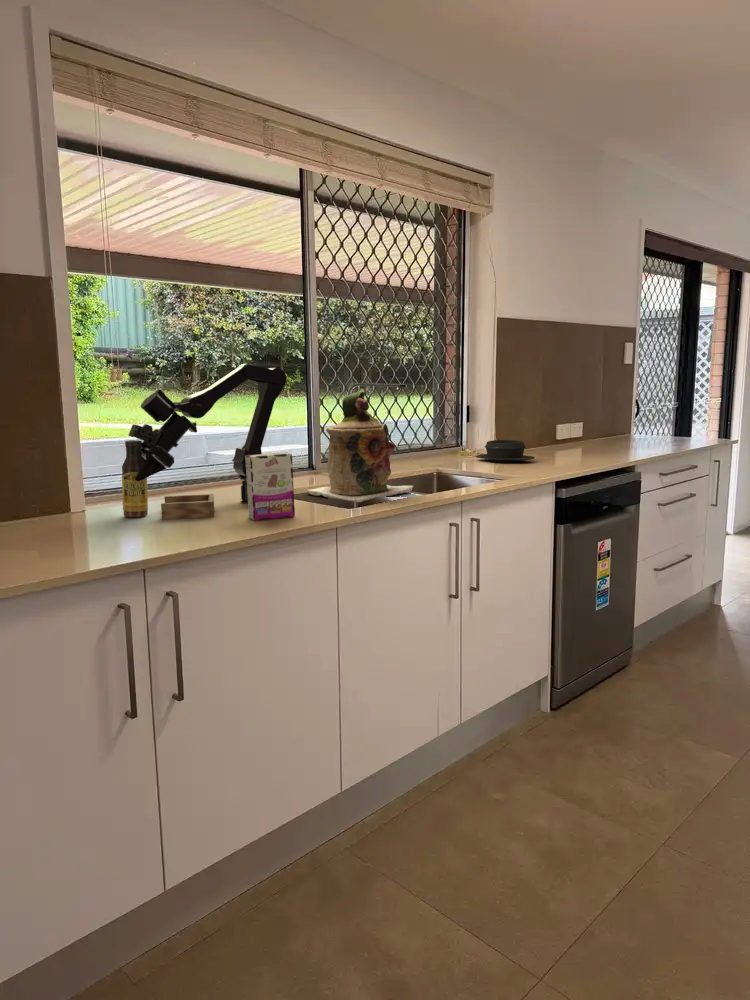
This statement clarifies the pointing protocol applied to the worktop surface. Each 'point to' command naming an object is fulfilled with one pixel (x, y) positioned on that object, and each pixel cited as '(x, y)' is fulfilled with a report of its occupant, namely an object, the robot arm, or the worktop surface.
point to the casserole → (505, 451)
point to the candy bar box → (270, 486)
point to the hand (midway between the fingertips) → (130, 478)
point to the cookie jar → (358, 455)
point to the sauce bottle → (134, 482)
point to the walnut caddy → (188, 506)
